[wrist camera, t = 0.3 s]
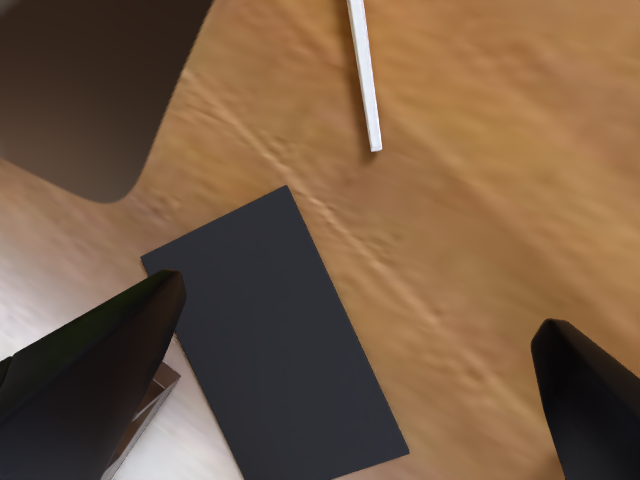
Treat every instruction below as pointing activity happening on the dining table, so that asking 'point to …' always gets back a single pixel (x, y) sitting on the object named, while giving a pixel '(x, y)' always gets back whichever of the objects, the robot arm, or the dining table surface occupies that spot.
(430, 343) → the dining table surface
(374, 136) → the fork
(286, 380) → the mat
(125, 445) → the pod rack
